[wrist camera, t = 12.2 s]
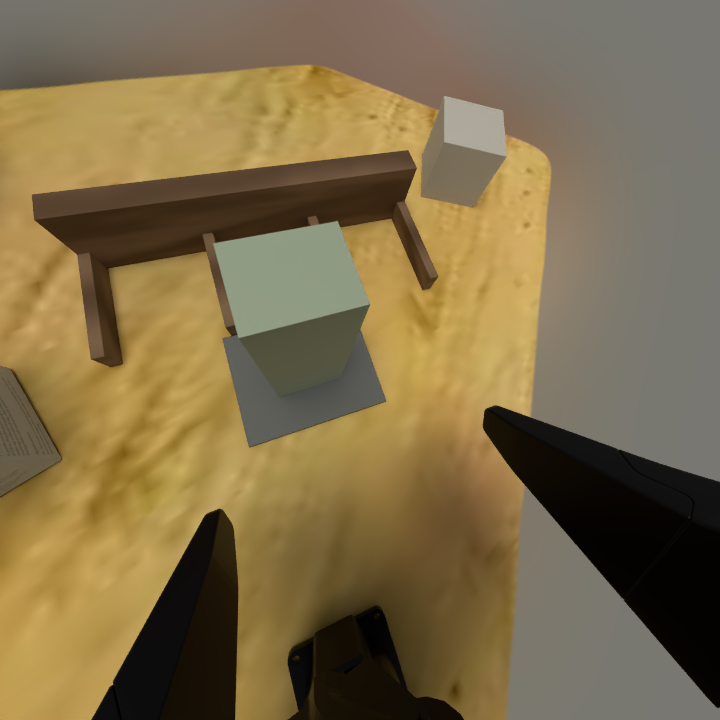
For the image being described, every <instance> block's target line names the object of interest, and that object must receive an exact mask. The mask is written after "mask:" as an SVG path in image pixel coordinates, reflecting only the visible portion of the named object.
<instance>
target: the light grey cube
mask: <svg viewBox="0 0 720 720" xmlns="http://www.w3.org/2000/svg"><path fill="white" fill-rule="evenodd" d="M506 157H507V155H506V143H505V130H504V118H503V111H502V110H498V109H494V108H490V107H486V106H482V105H478V104H474V103H470V102H466V101H462V100H458V99H454V98H450V97H447V96H444V99H443V101H442V104H441V107H440V109H439V112H438V114H437V117H436V120H435V122H434V125H433V128H432V130H431V133H430V136H429V138H428V141H427V144H426V146H425V149H424V152H423V154H422V173H421V197H425V198H430V199H435V200H440V201H445V202H449V203H454V204H459V205H464V206H469V207H473V206H474V205H475V203H476V202H477V200H478V199H479V197H480V196H481V194H482V193H483V191H484V190H485V188H486V187H487V185H488V184H489V182H490V181H491V179H492V178H493V176H494V175H495V173H496V172H497V170H498V169H499V167H500V166H501V164H502V163H503V161H504V160H505V158H506Z"/></svg>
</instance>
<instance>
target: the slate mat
mask: <svg viewBox="0 0 720 720" xmlns="http://www.w3.org/2000/svg"><path fill="white" fill-rule="evenodd" d="M222 339H223V343H224V347H225V351H226V355H227V359H228V363H229V367H230V371H231V376H232V380H233V384H234V388H235V392H236V396H237V400H238V404H239V408H240V412H241V417H242V421H243V425H244V429H245V433H246V437H247V441H248V445H249V447H252V446H255V445H258V444H261V443H264V442H267V441H270V440H272V439H275V438H278V437H281V436H284V435H287V434H290V433H293V432H296V431H299V430H302V429H305V428H308V427H311V426H314V425H317V424H320V423H323V422H326V421H329V420H332V419H335V418H338V417H341V416H344V415H347V414H350V413H353V412H356V411H358V410H361V409H364V408H367V407H370V406H373V405H376V404H379V403H382V402H385V401H386V399H385V396H384V393H383V391H382V388H381V385H380V382H379V380H378V377H377V374H376V371H375V369H374V366H373V363H372V360H371V358H370V355H369V352H368V349H367V347H366V344H365V341H364V338H363V336H362V333H361V330H360V331H359V333H358V336H357V338H356V341H355V343H354V346H353V348H352V351H351V353H350V356H349V358H348V361H347V363H346V366H345V368H344V371H343V373H342V376H341V378H339V379H336V380H333V381H330V382H326V383H323V384H320V385H317V386H314V387H311V388H307V389H304V390H301V391H298V392H295V393H291V394H288V395H285V396H282V397H279V396H278V394H277V393H276V391H275V390H274V388H273V387H272V386H271V384H270V383H269V381H268V380H267V378H266V377H265V375H264V374H263V373H262V371H261V370H260V368H259V367H258V365H257V364H256V363H255V361H254V360H253V358H252V357H251V355H250V354H249V352H248V351H247V350H246V348H245V347H244V345H243V344H242V342H241V341H240V340H239V338H238V335H234V336H230V337H226V338H222Z"/></svg>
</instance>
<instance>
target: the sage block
mask: <svg viewBox="0 0 720 720" xmlns="http://www.w3.org/2000/svg"><path fill="white" fill-rule="evenodd" d="M213 245H214V249H215V252H216V256H217V260H218V264H219V267H220V271H221V275H222V278H223V282H224V286H225V290H226V293H227V297H228V301H229V305H230V308H231V312H232V316H233V319H234V323H235V327H236V331H237V334H238V338H239V340H240V341H241V342H242V344H243V345H244V347H245V348H246V350H247V351H248V352H249V354H250V355H251V357H252V358H253V360H254V361H255V363H256V364H257V365H258V367H259V368H260V370H261V371H262V373H263V374H264V375H265V377H266V378H267V380H268V381H269V383H270V384H271V386H272V387H273V388H274V390H275V391H276V393H277V394H278V396H279V397H282V396H285V395H288V394H291V393H295V392H298V391H301V390H304V389H307V388H311V387H314V386H317V385H320V384H323V383H326V382H330V381H333V380H336V379H339V378H341V376H342V373H343V371H344V368H345V366H346V363H347V361H348V358H349V356H350V353H351V351H352V348H353V346H354V343H355V341H356V338H357V336H358V333H359V331H360V328H361V326H362V323H363V321H364V318H365V316H366V313H367V311H368V308H369V306H370V303H369V300H368V297H367V295H366V292H365V290H364V287H363V285H362V282H361V280H360V277H359V274H358V272H357V269H356V267H355V264H354V262H353V259H352V256H351V254H350V251H349V249H348V246H347V244H346V241H345V238H344V236H343V233H342V231H341V228H340V226H339V223H338V221H336V222H330V223H325V224H319V225H314V226H308V227H302V228H297V229H291V230H286V231H280V232H274V233H269V234H263V235H258V236H252V237H246V238H241V239H235V240H230V241H224V242H218V243H213Z"/></svg>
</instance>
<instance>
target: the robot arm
mask: <svg viewBox="0 0 720 720" xmlns="http://www.w3.org/2000/svg"><path fill="white" fill-rule="evenodd" d="M483 429H484V431H485V433H486V434H487V436H488V437H489V438H490V440H491V441H492V443H493V444H494V445H495V447H496V448H497V450H498V451H499V453H500V454H501V455H502V457H503V458H504V460H505V461H506V463H507V464H508V465H509V467H510V468H511V469H512V470H513V472H514V473H515V474H516V475H517V476H518V477H519V479H520V480H521V481H522V482H523V483H524V484H525V486H526V487H527V488H528V489H529V490H530V491H531V493H532V494H533V495H534V496H535V497H536V498H537V500H538V501H539V502H540V503H541V504H542V505H543V507H544V508H545V509H546V510H547V511H548V512H549V513H550V515H551V516H552V517H553V518H554V519H555V521H556V522H557V523H558V524H559V525H560V526H561V528H562V529H563V530H564V531H565V532H566V533H567V534H568V536H569V537H570V538H571V539H572V540H573V542H574V543H575V544H576V545H577V546H578V547H579V549H581V551H582V552H583V553H584V554H585V555H586V556H587V558H588V559H589V560H590V561H591V563H592V564H593V565H594V566H595V567H596V568H597V570H598V571H599V572H600V573H601V574H602V575H603V577H604V578H605V579H606V580H607V581H608V582H609V584H610V585H611V586H612V587H613V588H614V589H615V590H616V592H617V593H618V594H619V595H620V596H621V597H622V598H623V599H624V601H625V602H626V603H627V605H628V606H629V607H630V608H631V609H632V611H633V612H634V613H635V614H636V615H637V616H638V617H639V619H640V620H641V621H642V622H643V623H644V624H645V626H646V627H647V628H648V629H649V630H650V632H651V633H652V634H653V635H654V636H655V637H656V638H657V640H658V641H659V642H660V643H661V644H662V645H663V647H664V648H665V649H666V650H667V651H668V653H669V654H670V655H671V656H672V657H673V658H674V659H675V661H676V662H677V663H678V664H679V665H680V666H681V668H682V669H683V670H684V671H685V672H686V673H687V675H688V676H689V677H690V678H691V679H692V680H693V681H694V683H695V684H696V685H697V686H698V687H699V688H700V690H701V691H702V692H703V693H704V694H705V696H706V697H707V698H708V699H709V700H710V701H711V702H712V703H713V704H714V705H715V706H716V707H717V708H720V482H718V481H715V480H712V479H708V478H705V477H702V476H698V475H695V474H692V473H688V472H685V471H682V470H679V469H676V468H672V467H669V466H666V465H663V464H659V463H657V462H654V461H651V460H648V459H645V458H642V457H639V456H636V455H633V454H631V453H628V452H625V451H622V450H618V449H616V448H613V447H611V446H608V445H605V444H602V443H599V442H597V441H594V440H591V439H589V438H586V437H583V436H580V435H578V434H575V433H572V432H569V431H566V430H564V429H561V428H558V427H556V426H553V425H550V424H547V423H544V422H542V421H539V420H536V419H533V418H531V417H528V416H525V415H522V414H519V413H517V412H514V411H511V410H508V409H506V408H503V407H500V406H492V407H489V408H487V409H485V411H484V419H483ZM377 613H379V614H380V616H379V618H378V619H374V615H375V614H377ZM237 628H238V574H237V562H236V550H235V538H234V528H233V525H232V523H231V521H230V520H229V518H228V517H227V515H226V514H225V512H224V511H223V510H222V509H217V510H215V511H212V512H209V513H207V514H206V515H205V516H204V518H203V520H202V522H201V523H200V525H199V527H198V529H197V531H196V532H195V534H194V536H193V538H192V540H191V541H190V543H189V545H188V547H187V549H186V550H185V552H184V554H183V556H182V558H181V559H180V561H179V563H178V565H177V567H176V568H175V570H174V572H173V574H172V576H171V577H170V579H169V581H168V583H167V585H166V587H165V588H164V590H163V592H162V594H161V596H160V597H159V599H158V601H157V603H156V605H155V606H154V608H153V610H152V612H151V614H150V615H149V617H148V619H147V621H146V623H145V624H144V626H143V628H142V630H141V632H140V633H139V635H138V637H137V639H136V641H135V642H134V644H133V646H132V648H131V650H130V652H129V653H128V655H127V657H126V659H125V661H124V662H123V664H122V666H121V668H120V670H119V671H118V673H117V675H116V677H115V679H114V680H113V685H112V686H110V687H109V689H108V691H107V693H106V695H105V696H104V698H103V700H102V702H101V704H100V705H99V707H98V709H97V711H96V713H95V714H94V716H93V718H92V720H235V703H236V665H237ZM294 656H299V658H300V659H299V660H298V661H293V659H292V658H293V657H294ZM288 667H289V672H290V676H291V680H292V684H293V689H294V693H295V697H296V701H297V706H298V710H299V711H298V712H297V713H296V714H295V715H293V716H292V717H291V718H289V719H288V720H464V719H463V718H462V716H461V714H460V713H458V712H457V711H456V710H455V709H453V708H452V707H451V706H450V705H449V704H447V703H446V702H445V701H442V700H438V699H434V698H430V697H420V698H416V697H414V696H413V695H412V694H411V693H410V692H409V691H408V690H407V686H406V683H405V680H404V677H403V673H402V670H401V667H400V664H399V660H398V657H397V654H396V651H395V647H394V644H393V641H392V638H391V634H390V631H389V628H388V625H387V622H386V618H385V615H384V612H383V610H382V608H381V607H379V606H374V607H372V608H370V609H368V610H366V611H364V612H362V613H360V614H358V615H356V616H352V615H349V616H347V617H345V618H343V619H341V620H339V621H338V622H336V623H334V624H332V625H330V626H328V627H326V628H324V629H322V630H320V631H318V632H316V634H315V636H314V637H313V638H311V639H309V640H307V641H305V642H303V643H301V644H300V645H298V646H296V647H294V648H293V649H291V651H290V652H289V656H288Z"/></svg>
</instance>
